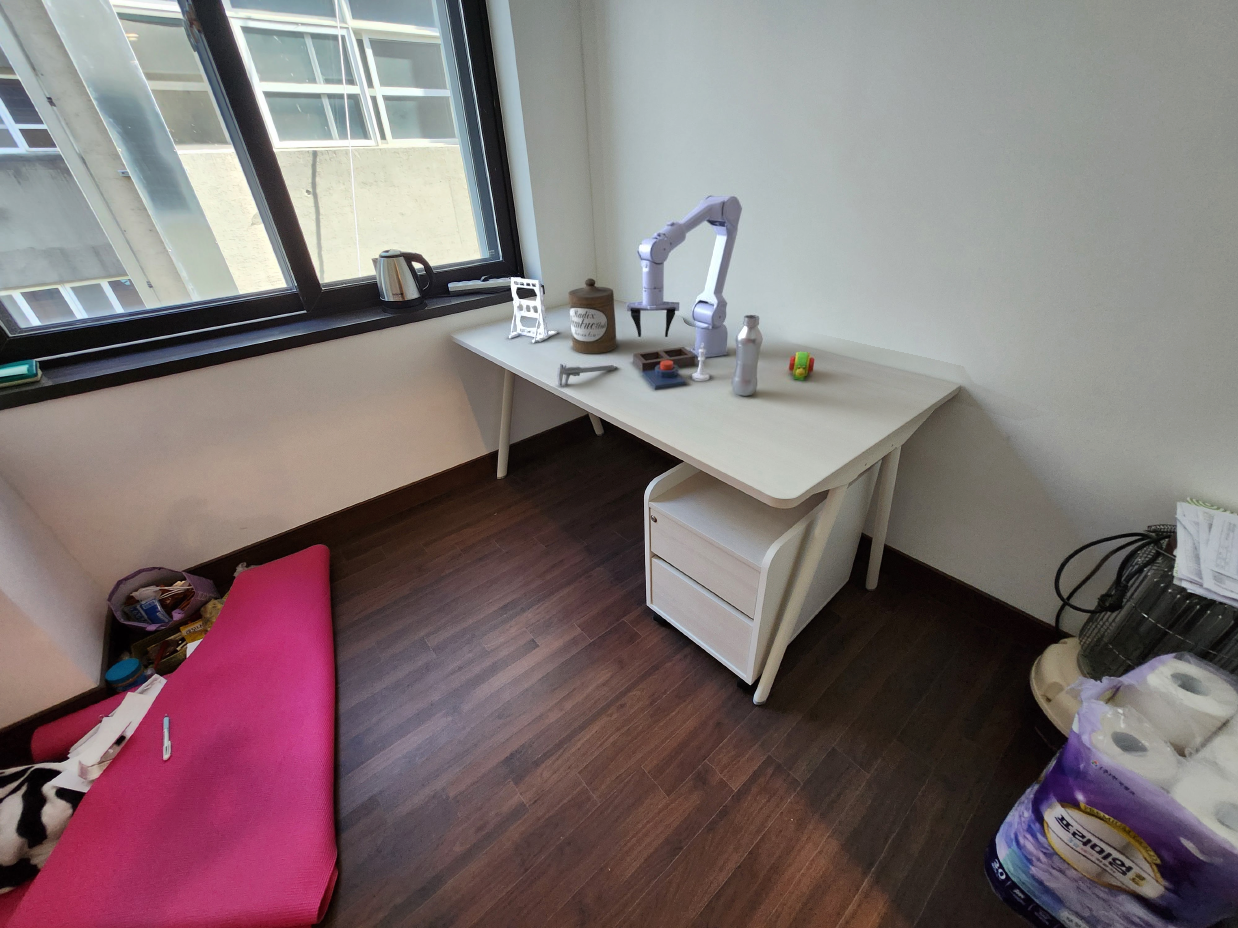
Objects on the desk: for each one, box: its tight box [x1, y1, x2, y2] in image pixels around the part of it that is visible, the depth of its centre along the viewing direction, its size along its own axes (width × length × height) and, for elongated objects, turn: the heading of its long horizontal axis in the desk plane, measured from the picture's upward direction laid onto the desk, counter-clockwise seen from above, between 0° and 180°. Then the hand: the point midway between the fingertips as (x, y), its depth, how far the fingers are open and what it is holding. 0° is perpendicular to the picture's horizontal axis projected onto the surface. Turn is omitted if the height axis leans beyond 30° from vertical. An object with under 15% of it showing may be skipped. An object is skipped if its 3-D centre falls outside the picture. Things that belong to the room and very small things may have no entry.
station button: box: [660, 360, 673, 371], centre depth 136 cm, size 4×4×2 cm
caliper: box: [556, 363, 618, 387], centre depth 139 cm, size 20×1×6 cm, turn 129°
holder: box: [632, 346, 696, 373], centre depth 146 cm, size 17×9×3 cm, turn 106°
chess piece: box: [691, 343, 710, 382], centre depth 134 cm, size 5×5×10 cm
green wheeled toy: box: [788, 351, 815, 381], centre depth 137 cm, size 6×19×7 cm, turn 160°
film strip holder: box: [508, 276, 558, 344], centre depth 171 cm, size 14×14×20 cm
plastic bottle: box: [731, 314, 764, 397], centre depth 121 cm, size 6×7×20 cm
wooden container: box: [567, 277, 617, 355], centre depth 158 cm, size 15×15×22 cm
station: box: [641, 364, 687, 390], centre depth 136 cm, size 9×11×3 cm
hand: (653, 336), depth 138 cm, fingers open, 7 cm apart
